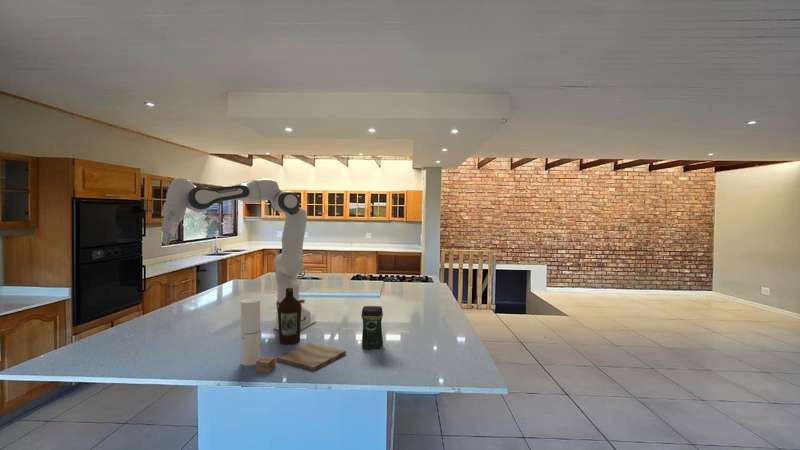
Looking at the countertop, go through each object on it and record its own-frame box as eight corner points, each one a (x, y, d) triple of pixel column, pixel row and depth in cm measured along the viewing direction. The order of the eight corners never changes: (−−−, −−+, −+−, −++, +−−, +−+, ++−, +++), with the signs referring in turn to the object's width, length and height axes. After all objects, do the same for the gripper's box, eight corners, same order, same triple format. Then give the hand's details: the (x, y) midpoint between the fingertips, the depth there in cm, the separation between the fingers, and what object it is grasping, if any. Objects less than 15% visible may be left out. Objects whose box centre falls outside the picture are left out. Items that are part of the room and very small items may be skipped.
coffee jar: (383, 344, 176) (384, 304, 175) (381, 350, 168) (382, 308, 167) (363, 343, 176) (363, 303, 176) (360, 349, 168) (360, 308, 168)
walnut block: (264, 366, 150) (264, 356, 150) (275, 368, 149) (275, 357, 149) (256, 371, 145) (256, 361, 145) (268, 373, 144) (268, 362, 144)
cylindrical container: (253, 366, 150) (253, 303, 149) (237, 364, 151) (237, 302, 150) (263, 359, 157) (263, 299, 156) (248, 358, 158) (247, 298, 157)
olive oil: (278, 338, 183) (278, 286, 182) (301, 336, 186) (301, 285, 185) (276, 345, 173) (276, 291, 172) (301, 344, 175) (300, 290, 174)
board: (310, 346, 173) (310, 342, 173) (345, 354, 163) (345, 350, 163) (276, 360, 155) (276, 357, 155) (313, 370, 146) (313, 367, 146)
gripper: (179, 211, 161) (170, 243, 158) (182, 218, 179) (174, 247, 176) (162, 207, 159) (153, 240, 156) (167, 215, 177) (159, 244, 174)
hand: (164, 244), depth 166 cm, fingers open, 8 cm apart
